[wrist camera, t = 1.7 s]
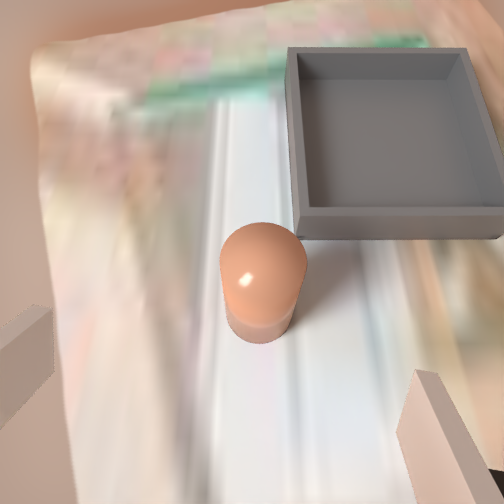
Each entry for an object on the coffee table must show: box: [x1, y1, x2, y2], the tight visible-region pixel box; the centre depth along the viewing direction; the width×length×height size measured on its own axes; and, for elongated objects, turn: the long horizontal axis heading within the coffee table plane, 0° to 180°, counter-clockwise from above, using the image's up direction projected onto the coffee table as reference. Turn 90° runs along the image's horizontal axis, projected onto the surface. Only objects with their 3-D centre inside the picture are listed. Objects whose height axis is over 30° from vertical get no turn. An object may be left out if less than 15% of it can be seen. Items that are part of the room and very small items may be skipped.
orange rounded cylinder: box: [220, 222, 307, 344], centre depth 37 cm, size 6×6×12 cm
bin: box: [285, 47, 504, 240], centre depth 49 cm, size 22×24×5 cm
